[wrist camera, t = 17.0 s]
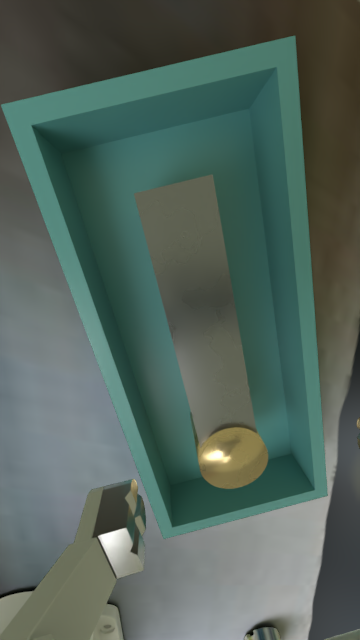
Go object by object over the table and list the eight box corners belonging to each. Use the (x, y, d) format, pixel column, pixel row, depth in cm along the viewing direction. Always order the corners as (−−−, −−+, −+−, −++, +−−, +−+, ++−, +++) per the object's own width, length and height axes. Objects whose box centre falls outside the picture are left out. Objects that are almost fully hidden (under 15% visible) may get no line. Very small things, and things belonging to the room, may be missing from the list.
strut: (134, 208, 16) (124, 193, 12) (204, 192, 16) (223, 169, 12) (196, 442, 22) (207, 495, 17) (247, 429, 22) (272, 479, 17)
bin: (298, 452, 25) (327, 495, 20) (162, 487, 24) (163, 539, 20) (257, 93, 16) (295, 35, 11) (44, 144, 16) (0, 104, 11)
